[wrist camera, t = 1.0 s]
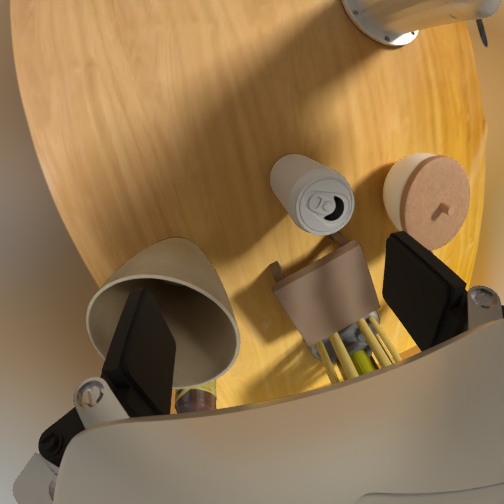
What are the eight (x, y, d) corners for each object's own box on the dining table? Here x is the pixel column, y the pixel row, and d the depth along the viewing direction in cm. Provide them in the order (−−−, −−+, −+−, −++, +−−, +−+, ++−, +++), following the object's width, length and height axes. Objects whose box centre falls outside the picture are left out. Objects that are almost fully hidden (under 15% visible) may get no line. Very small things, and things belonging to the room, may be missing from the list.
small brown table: (338, 222, 38) (360, 244, 32) (360, 281, 44) (380, 307, 37) (264, 263, 40) (273, 292, 34) (297, 316, 45) (308, 346, 39)
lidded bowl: (442, 180, 37) (489, 202, 27) (400, 238, 41) (441, 273, 31) (400, 127, 32) (453, 138, 23) (352, 194, 36) (395, 223, 27)
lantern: (373, 288, 45) (452, 401, 23) (379, 338, 51) (435, 434, 29) (298, 322, 46) (346, 457, 24) (317, 366, 52) (356, 474, 30)
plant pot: (228, 205, 35) (238, 270, 21) (232, 300, 42) (242, 386, 28) (116, 213, 34) (63, 278, 20) (137, 304, 40) (113, 386, 26)
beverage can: (304, 207, 37) (340, 248, 26) (260, 191, 35) (280, 227, 24) (324, 164, 34) (369, 188, 24) (279, 145, 32) (310, 159, 22)
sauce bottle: (177, 336, 44) (168, 443, 27) (214, 337, 45) (220, 444, 28) (180, 361, 47) (175, 460, 30) (214, 362, 48) (220, 461, 31)
